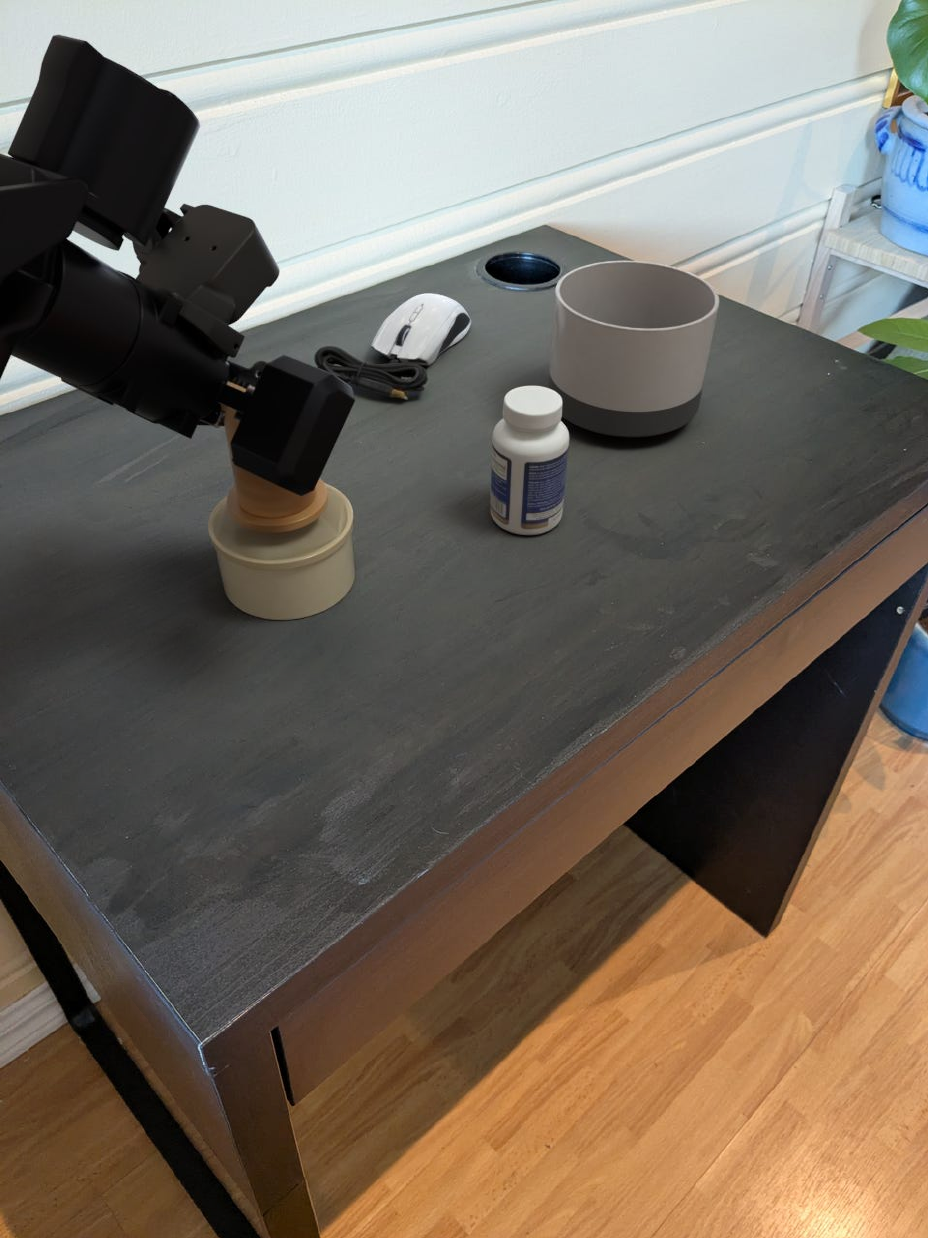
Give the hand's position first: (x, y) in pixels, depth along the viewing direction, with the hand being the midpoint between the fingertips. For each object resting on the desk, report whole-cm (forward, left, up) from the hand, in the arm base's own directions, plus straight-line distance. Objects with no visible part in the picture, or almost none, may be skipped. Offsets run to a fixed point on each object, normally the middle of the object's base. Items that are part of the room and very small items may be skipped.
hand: (285, 431), depth 60 cm
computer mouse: (+15, +28, -11) cm, 34 cm away
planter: (+30, +13, -11) cm, 34 cm away
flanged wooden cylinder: (-1, -1, -5) cm, 5 cm away
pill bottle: (+17, +1, -11) cm, 20 cm away
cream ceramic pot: (-1, -1, -11) cm, 11 cm away
